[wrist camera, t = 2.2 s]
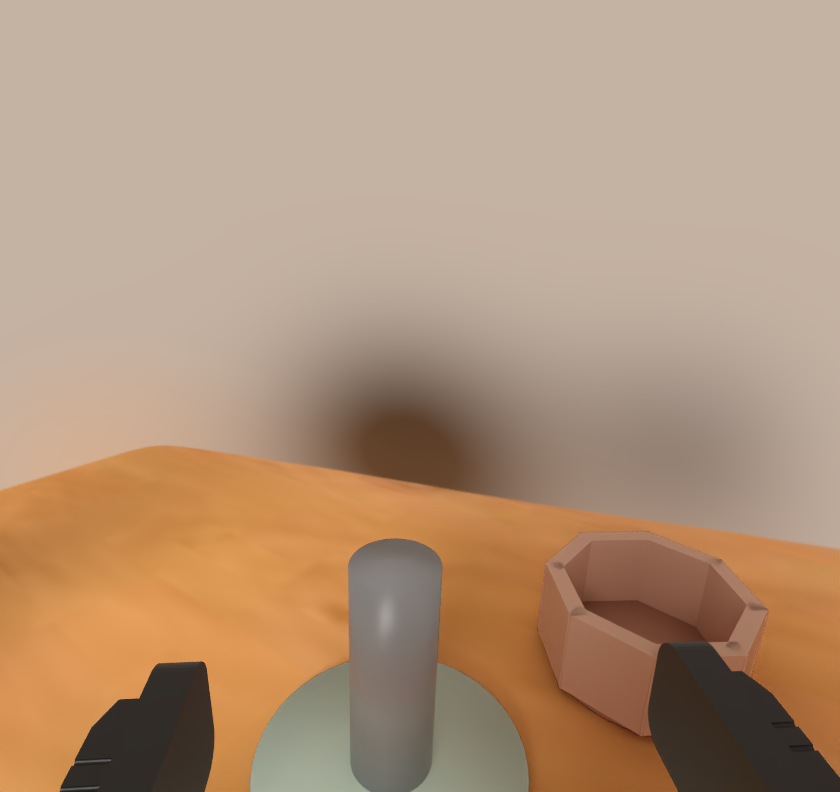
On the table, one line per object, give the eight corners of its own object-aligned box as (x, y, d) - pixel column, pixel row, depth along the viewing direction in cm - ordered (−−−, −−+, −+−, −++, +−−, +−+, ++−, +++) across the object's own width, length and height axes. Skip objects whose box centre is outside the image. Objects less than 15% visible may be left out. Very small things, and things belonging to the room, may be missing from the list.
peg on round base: (221, 945, 20) (190, 698, 17) (274, 673, 32) (262, 490, 28) (562, 920, 21) (604, 682, 18) (496, 665, 33) (513, 488, 29)
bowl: (577, 746, 28) (590, 661, 26) (523, 601, 38) (531, 532, 36) (785, 736, 29) (811, 654, 27) (680, 596, 39) (694, 530, 37)
